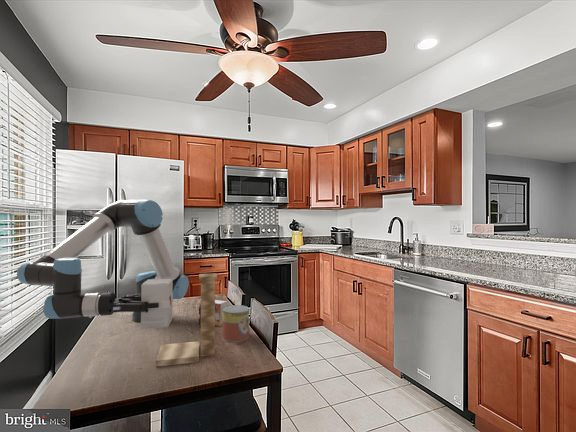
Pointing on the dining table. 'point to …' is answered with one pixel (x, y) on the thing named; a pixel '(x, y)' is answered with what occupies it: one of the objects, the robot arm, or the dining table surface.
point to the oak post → (207, 313)
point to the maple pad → (178, 353)
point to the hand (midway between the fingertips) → (171, 300)
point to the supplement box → (156, 291)
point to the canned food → (235, 323)
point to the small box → (219, 311)
